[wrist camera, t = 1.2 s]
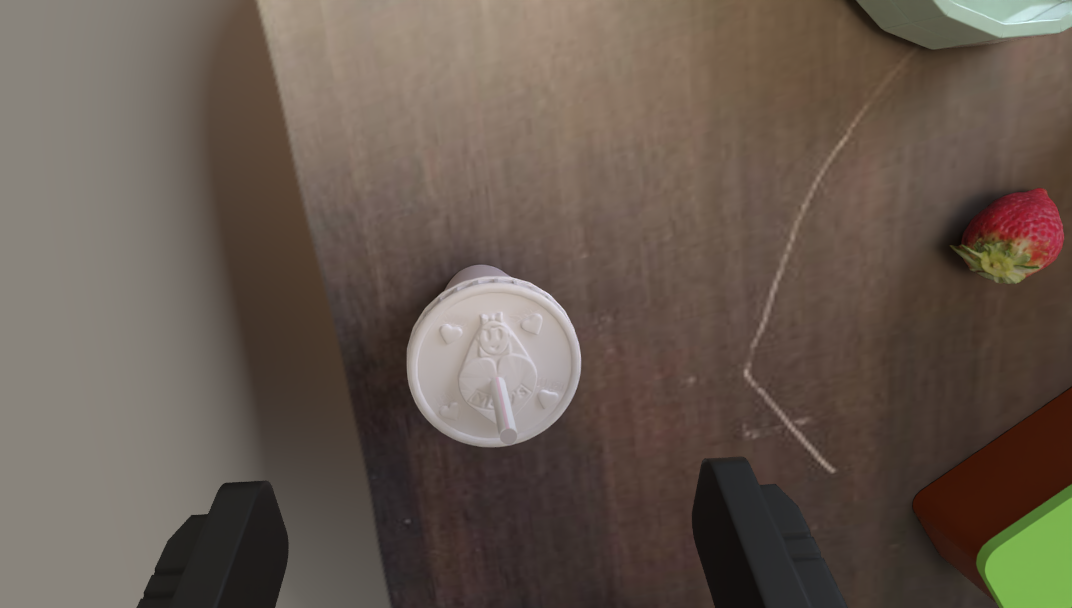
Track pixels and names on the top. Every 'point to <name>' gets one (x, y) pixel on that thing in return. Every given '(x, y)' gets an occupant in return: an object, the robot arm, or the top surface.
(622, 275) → the top surface
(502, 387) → the smoothie
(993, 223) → the fruit
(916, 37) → the dish
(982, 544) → the planter
